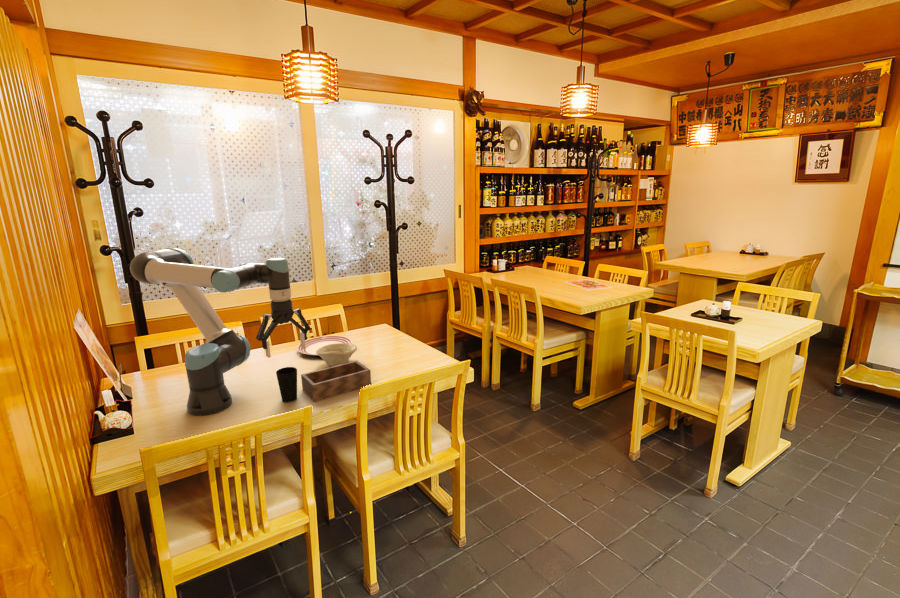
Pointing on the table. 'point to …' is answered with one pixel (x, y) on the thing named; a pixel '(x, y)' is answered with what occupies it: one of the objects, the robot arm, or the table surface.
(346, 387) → the open wooden box
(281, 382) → the cup
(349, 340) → the dinner plate
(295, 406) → the table surface
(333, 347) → the bowl
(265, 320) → the robot arm
